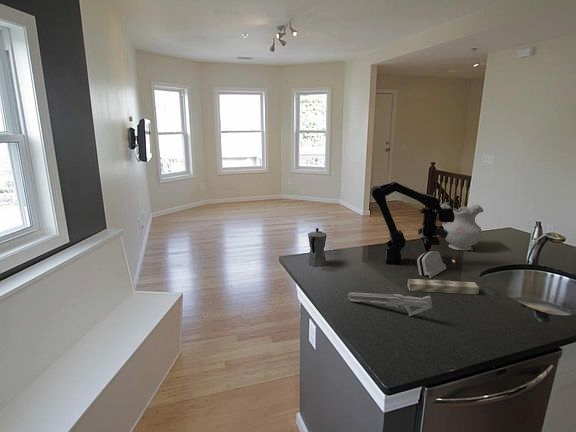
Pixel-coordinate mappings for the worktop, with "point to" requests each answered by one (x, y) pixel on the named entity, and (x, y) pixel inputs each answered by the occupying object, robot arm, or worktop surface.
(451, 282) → the beige wooden bar
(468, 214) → the ceramic pitcher
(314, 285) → the worktop surface
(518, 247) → the worktop surface
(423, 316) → the worktop surface
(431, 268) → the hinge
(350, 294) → the gun
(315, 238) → the coffeepot
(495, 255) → the worktop surface
